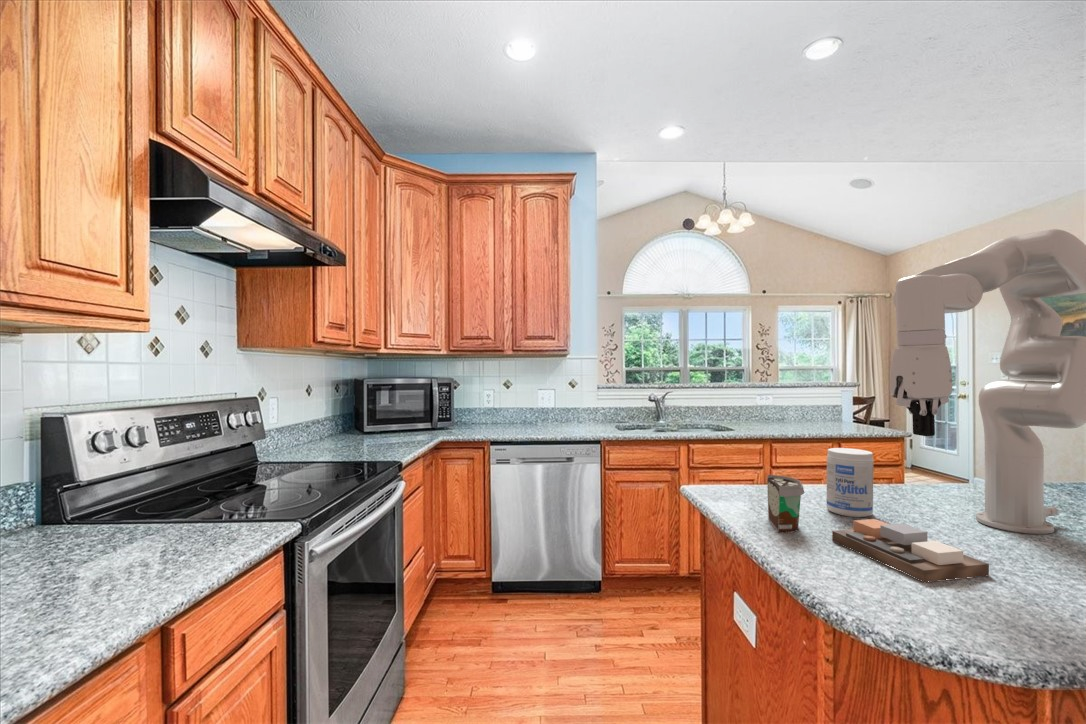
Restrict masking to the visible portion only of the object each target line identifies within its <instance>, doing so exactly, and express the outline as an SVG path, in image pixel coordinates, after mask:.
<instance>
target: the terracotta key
mask: <svg viewBox="0 0 1086 724" xmlns="http://www.w3.org/2000/svg"><path fill="white" fill-rule="evenodd" d="M890 524H891V523H890ZM890 524H889V523H888V522H887V523H886V522H883V521H882V520H878V519H876V518H871V519H868V518H867V519H858V520H852V525H853V527H852V529H853V531H856V532H860V533H863V534H865V535H868V536H872V537H875V538H876V539H879V538H885V537H882V536H881V528H880V525H890Z"/></svg>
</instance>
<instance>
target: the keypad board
mask: <svg viewBox="0 0 1086 724" xmlns="http://www.w3.org/2000/svg"><path fill="white" fill-rule="evenodd" d="M831 533H832V534H831V536H832V537H831V538H832V539H831V540H832V542H834V543H836V542H837V543H836V544H838V543H839V544H838V545H840V544H841V546H843V545H844V546H843V547H845V546H846V547H845V548H847V547H848V549H849V548H851V549H853V550H852V551H854V550H855V551H854V552H856V551H857V552H856V553H858V552H860V553H862V554H864V555H866V556H865V557H867V556H868V557H867V558H869V557H871V558H873V559H875V560H878V561H880V562H882V563H884V564H887V565H889V566H892V567H894V568H896V569H898V570H901V571H903V572H905V573H907V574H909V575H911V576H913V577H915V578H917V579H919V580H922V581H923V582H922V581H921V582H922V583H924V582H926V583H931V582H930V581H936V582H939V581H938V580H945V581H947V580H946V579H954V580H956V579H955V578H963V579H968V578H967V577H973V578H976V577H975V576H982V577H987V576H986V575H989V576H990V568H989V567H990V564H989V563H987V562H985V561H982V560H979V559H977V558H974V557H971V556H969V555H965V554H963V563H956V564H946V565H937V564H934V563H932V562H929V561H927V560H925V559H924V558H922V557H920V556H917V555H915V554H912V544H911V545H902V544H900V543H897V542H895V541H892V540H890V539H887V538H879V539H876V538H875V537H872V536H868V535H865V534H863V533H860V532H856V531H853V528H851V529H838V530H832V531H831ZM851 549H850V550H851ZM860 553H859V554H860ZM862 554H861V555H862ZM864 555H863V556H864ZM871 558H870V559H871ZM873 559H872V560H873ZM875 560H874V561H875ZM878 561H877V562H878ZM880 562H879V563H880ZM882 563H881V564H882ZM884 564H883V565H884ZM889 566H888V567H889ZM911 576H910V577H911ZM913 577H912V578H913ZM915 578H914V579H915ZM917 579H916V580H917ZM919 580H918V581H919ZM928 581H929V582H928Z"/></svg>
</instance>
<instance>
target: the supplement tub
mask: <svg viewBox="0 0 1086 724" xmlns="http://www.w3.org/2000/svg"><path fill="white" fill-rule="evenodd" d="M826 455H827V456H826V499H825V500H826V501H825V502H826V503H825V505H826V509H827V510H828V511H830V512H832V513H834V514H837V515H841V516H844V517H852V518H865V517H866V518H867V517H870V516H872V514H873V513H874V512H873V511H874V458H873V457H874V454H873V452H872V451H869V450H865V449H858V448H851V447H850V448H849V447H848V448H847V447H832V448H828V449H827V454H826Z"/></svg>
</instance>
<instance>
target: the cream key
mask: <svg viewBox="0 0 1086 724" xmlns="http://www.w3.org/2000/svg"><path fill="white" fill-rule="evenodd" d="M912 554H915V555H917V556H920V557H922V558H924V559H925V560H927V561H929V562H932V563H934V564H937V565H946V564H956V563H963V555H964V550H963V549H960V548H956V547H954V546H951V545H948V544H945V543H943V542H940V541H938V540H937V541H936V540H929V541H928V540H927V542H916V543H912Z"/></svg>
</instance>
